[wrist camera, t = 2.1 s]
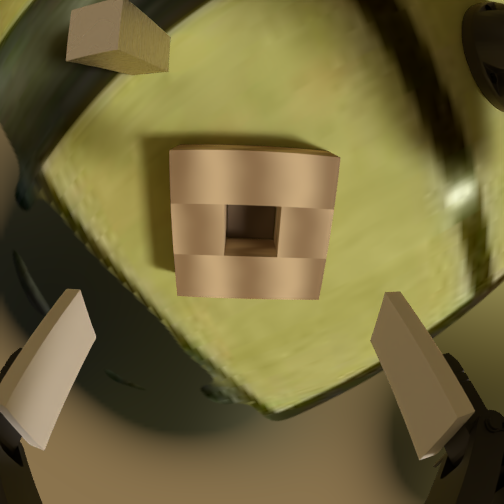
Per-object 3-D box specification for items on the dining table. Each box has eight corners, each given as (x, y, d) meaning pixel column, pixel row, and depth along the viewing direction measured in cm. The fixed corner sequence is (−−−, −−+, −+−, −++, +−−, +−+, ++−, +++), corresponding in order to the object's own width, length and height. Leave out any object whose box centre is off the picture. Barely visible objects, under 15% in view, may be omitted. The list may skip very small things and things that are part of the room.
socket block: (328, 151, 27) (340, 157, 23) (311, 278, 33) (318, 299, 30) (179, 144, 26) (169, 150, 23) (184, 275, 33) (177, 295, 29)
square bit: (170, 37, 22) (123, -4, 11) (168, 71, 23) (117, 49, 12) (134, 41, 22) (71, 10, 11) (132, 75, 23) (66, 61, 12)
